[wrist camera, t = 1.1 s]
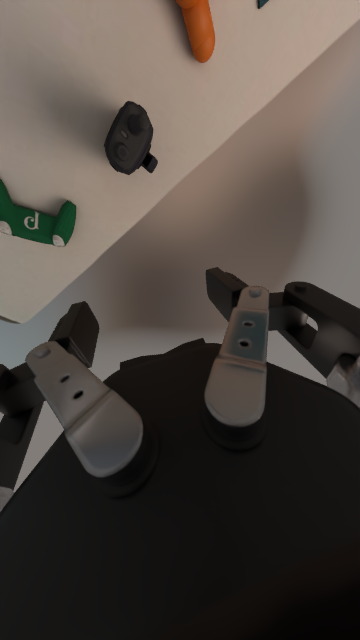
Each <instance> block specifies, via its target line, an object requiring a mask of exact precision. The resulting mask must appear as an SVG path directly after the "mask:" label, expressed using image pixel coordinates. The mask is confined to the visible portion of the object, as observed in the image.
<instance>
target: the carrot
mask: <svg viewBox="0 0 360 640" xmlns="http://www.w3.org/2000/svg"><path fill="white" fill-rule="evenodd" d="M175 1H176V2H177V3H178V5H180V6H181V9H182V13H183V17H184V20H185V24H186V28H187V32H188V36H189V39H190V43H191V47H192V51H193V54H194V57H195V58H196V60H197V61H198V62H200V63H204V62H206V61H207V60H208V59H209V58H210V57H211V55H212V53H213V50H214V45H215V33H214V28H213V23H212V18H211V13H210V8H209V3H208V0H175Z"/></svg>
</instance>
